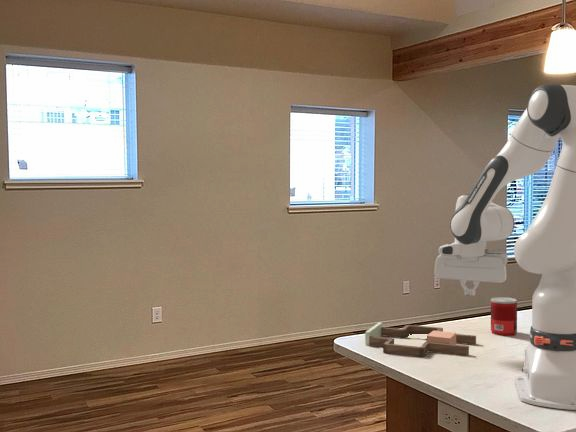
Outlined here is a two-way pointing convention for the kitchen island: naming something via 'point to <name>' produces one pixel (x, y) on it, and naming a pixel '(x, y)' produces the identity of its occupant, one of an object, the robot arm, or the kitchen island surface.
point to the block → (442, 337)
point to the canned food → (504, 316)
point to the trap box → (389, 347)
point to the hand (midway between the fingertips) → (469, 295)
